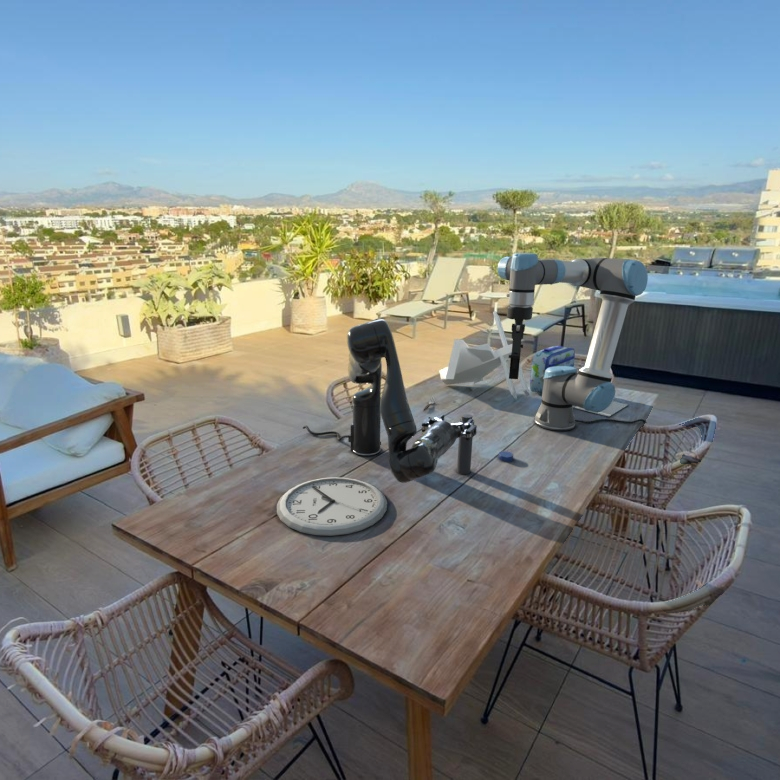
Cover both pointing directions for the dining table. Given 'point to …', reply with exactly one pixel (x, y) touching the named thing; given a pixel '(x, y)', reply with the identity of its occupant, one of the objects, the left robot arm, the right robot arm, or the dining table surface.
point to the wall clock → (331, 506)
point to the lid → (505, 456)
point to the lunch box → (549, 364)
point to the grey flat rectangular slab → (608, 409)
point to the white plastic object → (480, 362)
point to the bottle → (464, 450)
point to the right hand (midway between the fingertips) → (514, 373)
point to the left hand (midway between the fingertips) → (457, 419)
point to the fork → (430, 403)
